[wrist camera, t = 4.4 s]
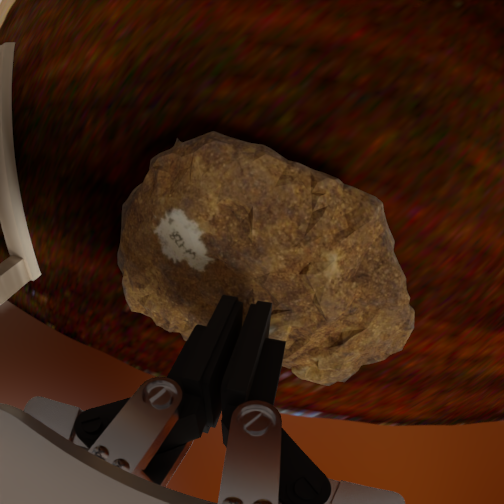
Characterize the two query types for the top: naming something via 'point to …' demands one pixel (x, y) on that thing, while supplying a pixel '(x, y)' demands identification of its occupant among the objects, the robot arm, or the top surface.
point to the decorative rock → (265, 254)
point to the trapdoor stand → (12, 194)
